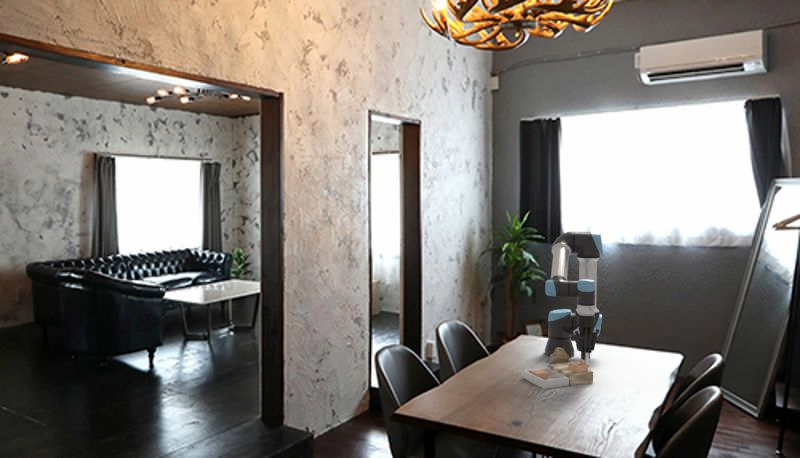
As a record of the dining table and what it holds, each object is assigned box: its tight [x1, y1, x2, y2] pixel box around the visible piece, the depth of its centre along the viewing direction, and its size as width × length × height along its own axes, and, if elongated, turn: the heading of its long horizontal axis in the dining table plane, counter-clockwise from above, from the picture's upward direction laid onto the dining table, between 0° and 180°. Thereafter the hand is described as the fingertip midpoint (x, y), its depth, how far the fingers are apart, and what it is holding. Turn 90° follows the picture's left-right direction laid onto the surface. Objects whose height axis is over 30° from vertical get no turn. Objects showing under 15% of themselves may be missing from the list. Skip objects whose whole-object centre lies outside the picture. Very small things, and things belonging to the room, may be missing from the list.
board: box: [548, 363, 594, 386], centre depth 260 cm, size 16×12×5 cm
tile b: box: [568, 360, 589, 372], centre depth 256 cm, size 6×6×3 cm
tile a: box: [529, 368, 549, 380], centre depth 259 cm, size 6×6×3 cm
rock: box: [548, 347, 570, 366], centre depth 275 cm, size 11×12×10 cm
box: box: [522, 367, 570, 390], centre depth 255 cm, size 16×13×4 cm
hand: (585, 366), depth 257 cm, fingers closed
